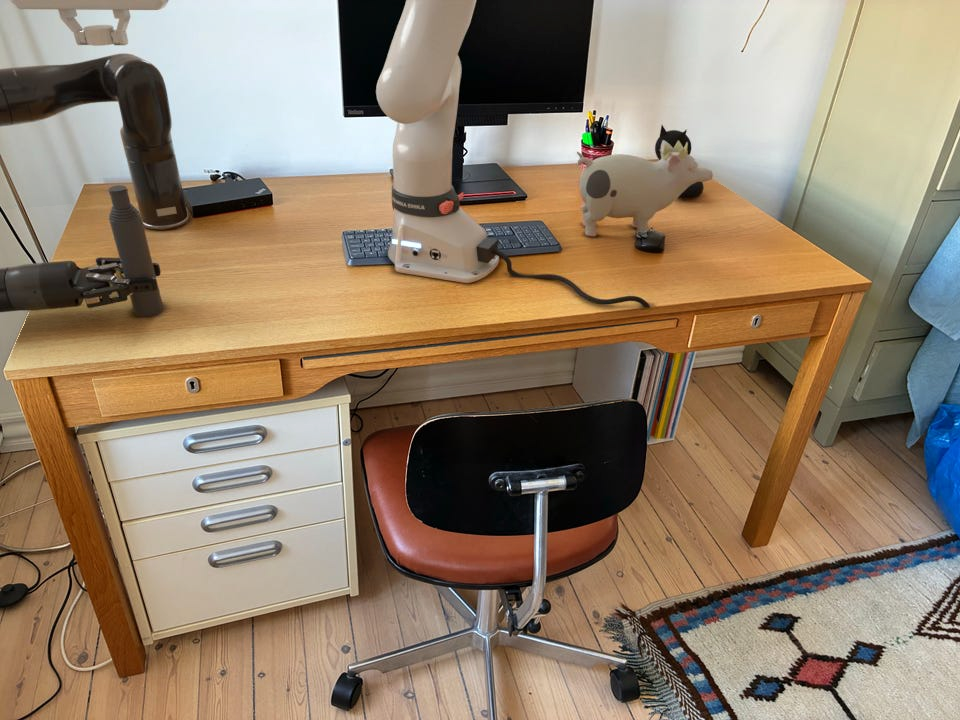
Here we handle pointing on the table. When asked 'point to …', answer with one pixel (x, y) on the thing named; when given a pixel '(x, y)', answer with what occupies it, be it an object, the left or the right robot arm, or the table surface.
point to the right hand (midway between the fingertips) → (102, 44)
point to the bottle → (133, 250)
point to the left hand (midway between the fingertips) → (157, 276)
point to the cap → (98, 35)
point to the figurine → (635, 185)
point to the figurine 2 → (672, 139)
